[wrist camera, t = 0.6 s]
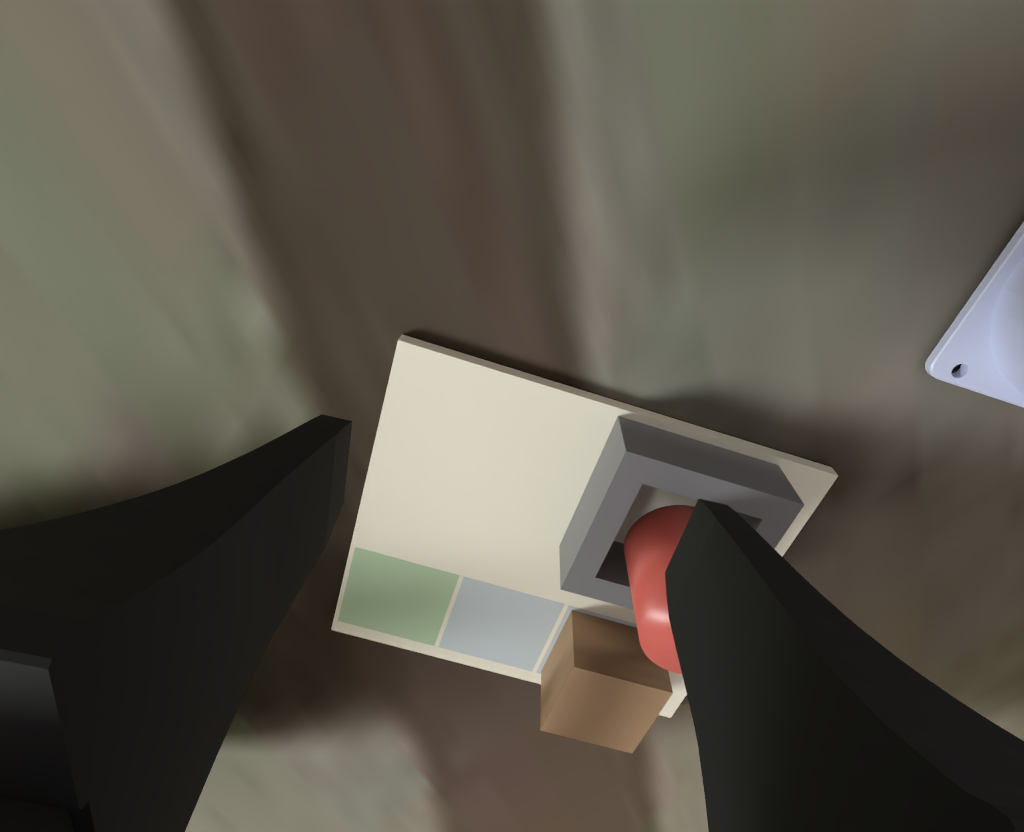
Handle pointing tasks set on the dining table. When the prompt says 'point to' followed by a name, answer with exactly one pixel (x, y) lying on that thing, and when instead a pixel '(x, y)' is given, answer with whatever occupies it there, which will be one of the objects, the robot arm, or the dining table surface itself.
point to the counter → (601, 684)
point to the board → (496, 510)
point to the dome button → (654, 579)
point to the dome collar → (671, 467)
